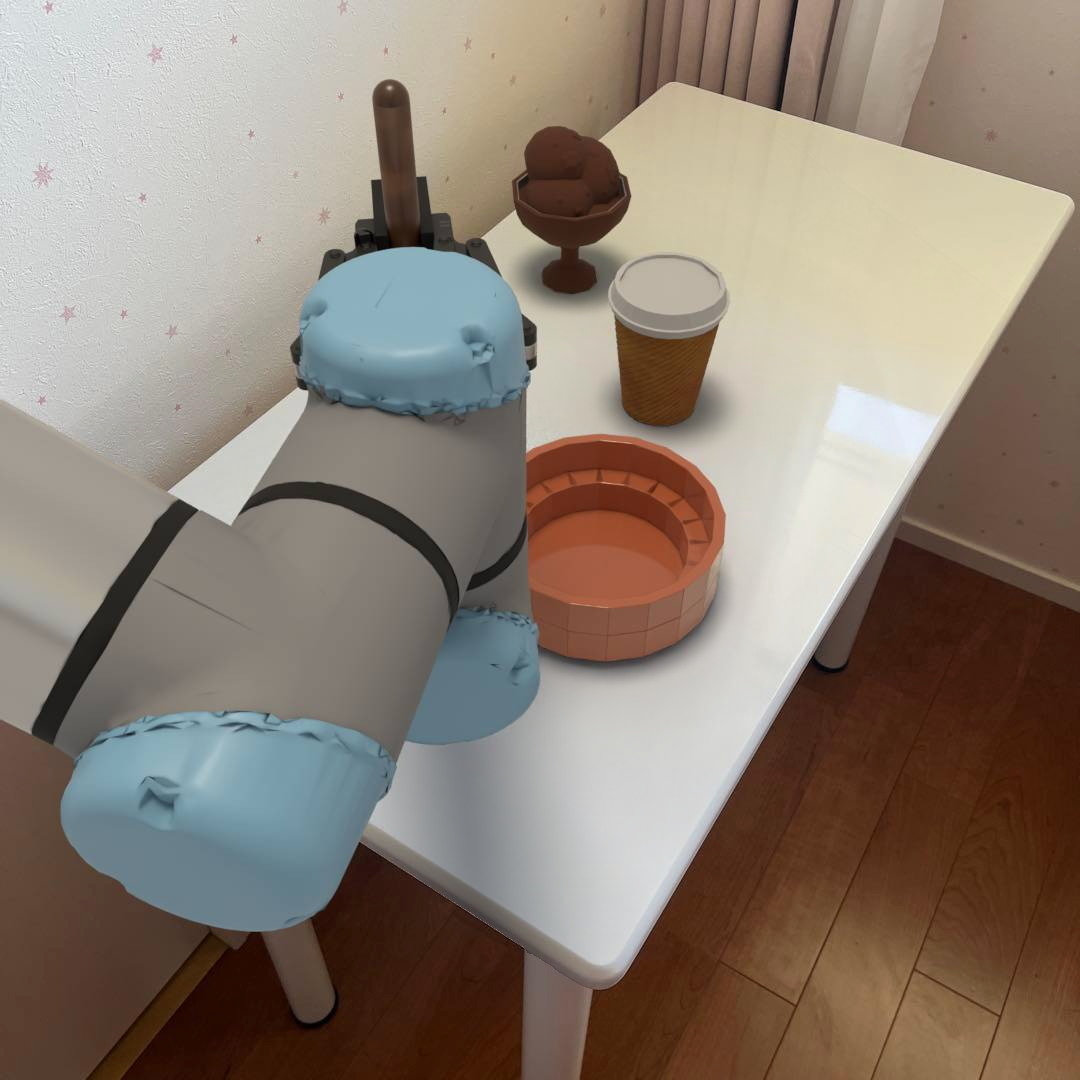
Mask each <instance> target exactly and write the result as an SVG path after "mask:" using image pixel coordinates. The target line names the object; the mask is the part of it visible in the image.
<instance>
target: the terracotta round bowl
mask: <svg viewBox="0 0 1080 1080" xmlns="http://www.w3.org/2000/svg"><path fill="white" fill-rule="evenodd" d="M526 508H527V520H528V579H529V593H530V602H531V609H532V615H533V621H534V623H537V627H538V630H539V638H538V640H539V642H538V643H537V646H539V647H541V648H544V649H546V650H549V651H552V652H554V653H556V654H559V655H561V656H563V657H565V658H567V657H568V658H574V659H581V660H588V661H598V662H613V661H621V660H628V659H637V658H643V657H647V656H649V655H651V654H654V653H657V652H658V651H661V650H663V649H665V648H667V647H670V646H672V645H675V644H676V643H678V642H680V641H681V640H682V639H683V638H684V637H685V636H687V634H689V633H690V632H691V631H692V630H694V628H696V627H697V626H698V625H699V624H700V623H702V621H703V619H704V617H705V615H706V614H707V611H708V609H709V608H710V605H711V603H712V602H713V600H714V598H715V596H716V592H717V586H718V585H717V584H718V580H719V574H720V569H721V562H722V558H723V551H724V547H725V538H726V537H725V535H726V534H725V533H726V520H727V519H726V518H727V514H726V512H725V509H724V506H723V504H722V501H721V498H720V495H719V494H718V491H717V489H716V486H715V485H714V484H713V483H712V482H711V481H710V480H709V479H708V478H707V476H706V475H705V474H704V473H703V472H702V471H701V470H700V468H698V466H697V465H696V464H694V463H692V462H691V461H689V460H688V459H686V458H684V457H683V456H682V455H680V454H678V453H676V452H675V451H673V450H672V449H670V448H668V447H666V446H664V445H661V444H657V443H655V442H651V441H648V440H645V439H642V438H639V437H635V436H627V435H617V434H607V433H593V434H585V435H575V436H567V437H561V438H558V439H555V440H552V441H550V442H546V443H543V444H540V445H538V446H535V447H533V448H531V449H529V450H528V451H526Z"/></svg>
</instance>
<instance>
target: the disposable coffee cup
mask: <svg viewBox="0 0 1080 1080" xmlns="http://www.w3.org/2000/svg"><path fill="white" fill-rule="evenodd" d="M607 299H608V304H609V306H610V308H611V311H612V313H613V318H614V325H615V338H616V350H617V353H616V354H617V361H618V370H619V371H618V372H619V381H620V382H619V383H620V393H621V395H620V396H621V404H622V405H621V406H622V407H623V409H624V410H625V412H626V413H627V414H628V415H629V416H630V417H631V418H633V419H635V420H637V421H638V422H640V423H642V424H645V425H651V426H663V427H664V426H671V425H676V424H678V423H681V422H683V421H685V420H687V419H688V418H690V417H691V415H692V414H693V413H694V411H695V409H696V407H697V403H698V402H697V401H698V399H699V396H700V392H701V388H702V386H703V381H704V378H705V374H706V371H707V368H708V364H709V361H710V359H711V354H712V351H713V347H714V344H715V340H716V337H717V333H718V330H719V327H720V323H721V321H722V320H723V318H724V317H725V316H726V314H727V313H728V310H729V307H730V304H731V296H730V292H729V290H728V287H727V283H726V281H725V278H724V276H723V273H722V272H721V271H720V270H719V269H718V268H717V267H716V266H715V265H713V264H712V263H710V262H709V261H707V260H705V259H703V258H701V257H698V256H695V255H692V254H688V253H684V252H674V251H657V252H650V253H645V254H642V255H638V256H635V257H633V258H631V259H630V260H628V261H626V262H624V263H623V265H621V266H620V267H619V269H618V270H617V272H616V274H615V277H614V279H613V280H612V281H611V283H610V285H609V288H608V291H607Z"/></svg>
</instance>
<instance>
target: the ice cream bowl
mask: <svg viewBox="0 0 1080 1080" xmlns="http://www.w3.org/2000/svg"><path fill="white" fill-rule="evenodd" d="M523 157H524V163H525V168H526V169H525V170H524V171H523V172H521V173H520V174H519V175H517V176H516V177H515V178H513V179H512V180H511V187H512V197H513V198H512V200H513V203H514V204H513V205H514V208H515V209H514V210H515V213H516V215H517V216H516V217H518V219H519V221H520V223H521V225H522V226H523V227H524V228H526V229H527V230H528V231H529V232H531V233H532V234H533V235H535V236H536V237H538V238H539V239H541V240H542V241H544V242H545V243H547V244H548V245H550V246H554V247H557V248H560V258H559V259H554V260H551V261H550V262H549V263H548V264H547V265H546V266H545V267H544V268H543V269H542V272H541V279H542V285H544V286H545V287H547V288H548V289H550V290H551V291H552V292H555V293H563V294H570V295H574V294H578V293H582V292H587V291H589V290H590V289H591V288H593V286H594V285H596V283H597V282H598V276H597V270H596V267H595V266H594V265H593V264H591V263H590V262H588V261H586V260H585V259H583V258H580V248H581V247H585V246H590V245H593V244H596V243H598V242H599V241H601V240H602V239H603V238H605V237H606V236H607V235H608V234H609V233H610V232H611V231H613V230H614V229H615V227H616V226H618V225H619V224H620V223H621V222H622V220H623V219H624V217H625V216H626V214H627V212H628V210H629V206H630V203H631V200H632V193H631V189H630V188H631V187H630V184H629V180H628V176H626V175H625V174H623V173H622V172H620V169H619V166H618V163H617V159H616V158H615V156H614V155H613V152H612V150H611V148H609V147H608V146H607V145H605V144H604V143H603V142H601V141H600V140H598V139H596V138H594V137H592V136H586V135H580V134H579V132H578V131H576V130H574V129H571V128H568V127H566V126H561V125H553V126H552V125H551V126H550V125H549V126H546V127H544V128H541V129H540V130H538V131H536V132H535V133H533V135H532V137H531V139H530V140H529V142H528V143H527V144H526V146H525V149H524V152H523Z"/></svg>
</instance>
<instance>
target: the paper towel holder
mask: <svg viewBox="0 0 1080 1080" xmlns="http://www.w3.org/2000/svg"><path fill="white" fill-rule="evenodd" d="M371 101H372V110H373V111H372V112H373V120H374V129H375V137H376V146H377V147H376V148H377V155H378V165H379V172H380V179H381V182H382V191H383V200H384V209H385V217H386V226H387V232H388V241H389V249H393V248H401V247H422V242H421V231H420V227H421V223H420V212H419V200H418V189H417V177H418V176H417V167H416V154H415V145H414V144H415V143H414V134H413V133H414V131H413V122H412V121H413V120H412V110H411V99H410V93H409V91H408V89H407V88H406V85H404V83H402V82H400V81H399V80H398V79H397V80H396V79H393V78H392V79H391V78H388V79H384V80H381V81H380V82H379V83H377V85H376V86H375V87H374V89H373V91H372V95H371Z"/></svg>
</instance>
